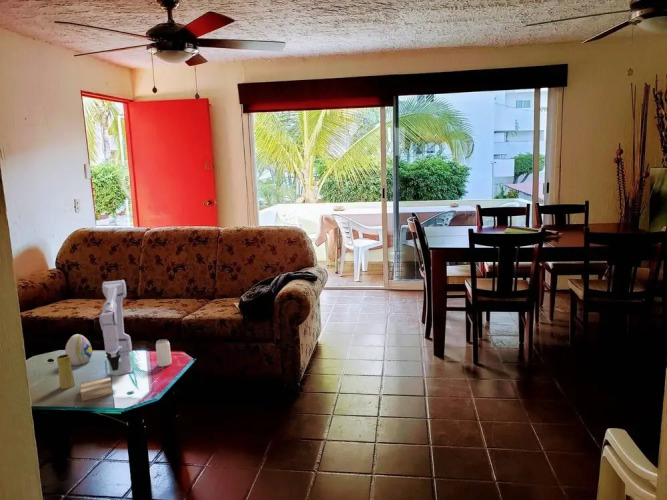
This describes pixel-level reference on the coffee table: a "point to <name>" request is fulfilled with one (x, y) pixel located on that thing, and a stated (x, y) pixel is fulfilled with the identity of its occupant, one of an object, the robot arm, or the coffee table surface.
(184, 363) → the coffee table surface
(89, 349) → the decorative egg
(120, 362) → the teal cube
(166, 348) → the can
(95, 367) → the coffee table surface
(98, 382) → the beech block
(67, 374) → the vase
